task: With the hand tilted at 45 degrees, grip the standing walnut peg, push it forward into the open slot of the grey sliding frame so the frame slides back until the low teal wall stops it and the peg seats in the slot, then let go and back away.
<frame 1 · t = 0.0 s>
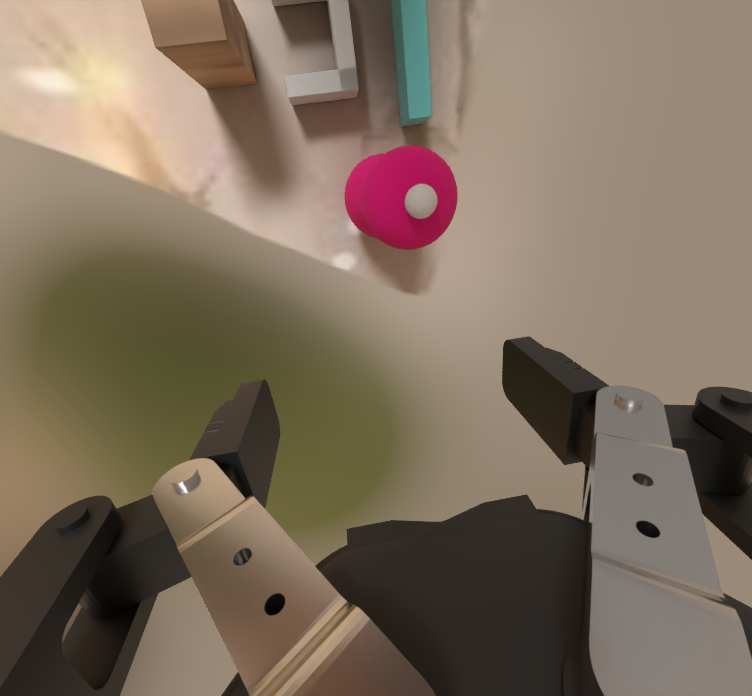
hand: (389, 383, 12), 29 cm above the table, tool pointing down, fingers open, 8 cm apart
wall: (404, 34, 32), on the table
frame: (314, 36, 30), point 2 cm above the table, slide at 0.0 cm
pepper mill: (377, 197, 37), on the table
peg: (223, 55, 31), on the table
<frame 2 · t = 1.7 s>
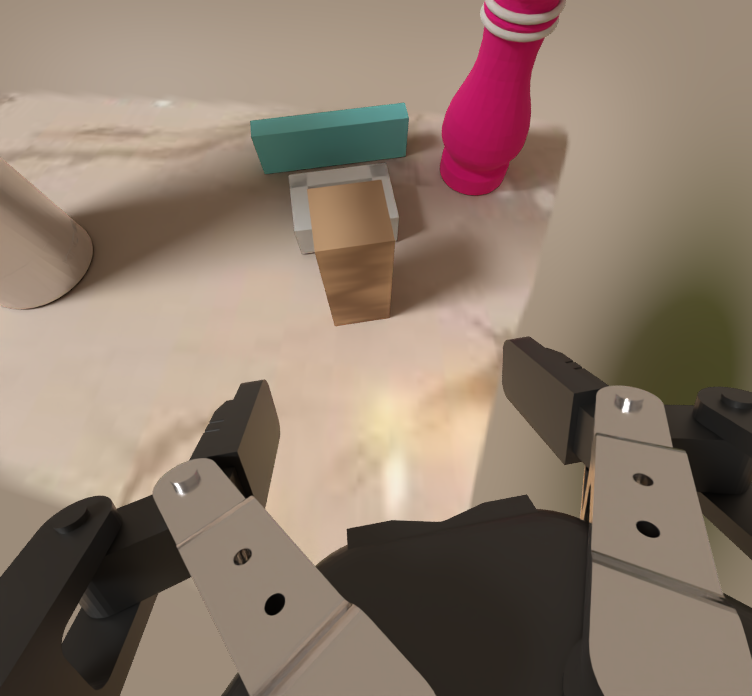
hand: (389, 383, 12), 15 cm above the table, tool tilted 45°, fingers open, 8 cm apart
wall: (334, 157, 35), on the table
frame: (343, 208, 31), point 2 cm above the table, slide at 0.0 cm
pepper mill: (471, 173, 35), on the table
peg: (358, 298, 30), on the table
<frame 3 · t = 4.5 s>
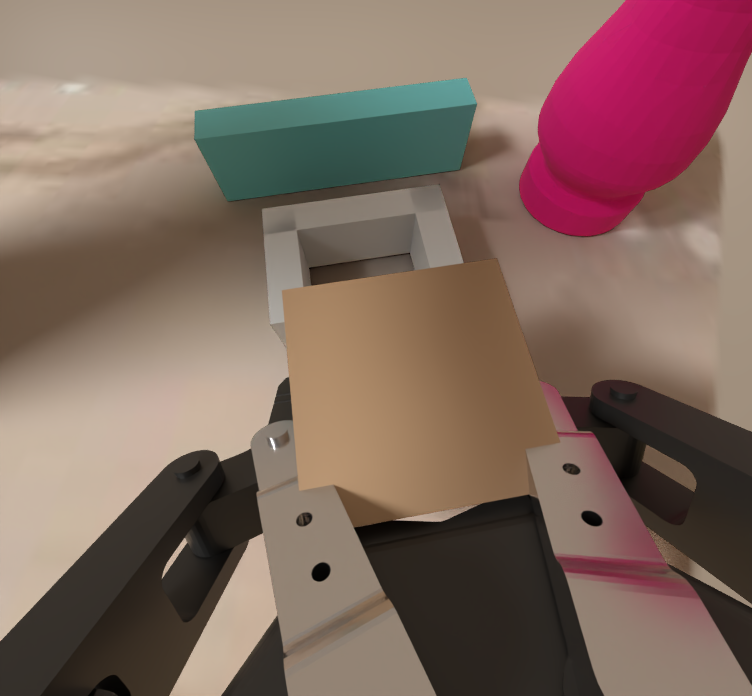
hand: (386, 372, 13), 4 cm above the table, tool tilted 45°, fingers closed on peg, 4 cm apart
wall: (343, 172, 21), on the table
frame: (363, 267, 17), point 2 cm above the table, slide at 0.0 cm
pepper mill: (570, 196, 21), on the table
peg: (392, 439, 16), on the table, touching gripper
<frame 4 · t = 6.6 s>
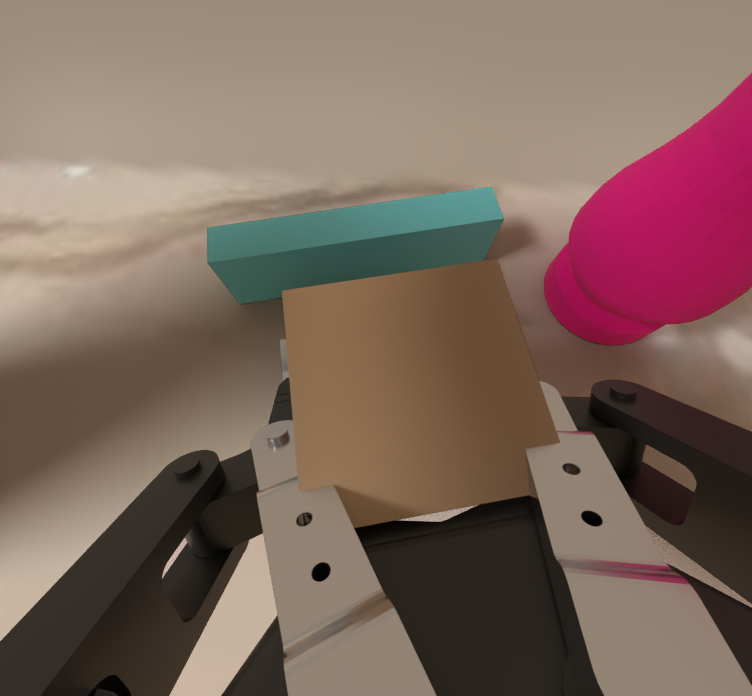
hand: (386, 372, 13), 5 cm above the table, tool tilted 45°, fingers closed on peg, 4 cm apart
wall: (360, 270, 21), on the table
frame: (385, 396, 16), point 2 cm above the table, slide at 0.0 cm
pepper mill: (596, 296, 20), on the table
peg: (392, 439, 16), point 1 cm above the table, touching gripper
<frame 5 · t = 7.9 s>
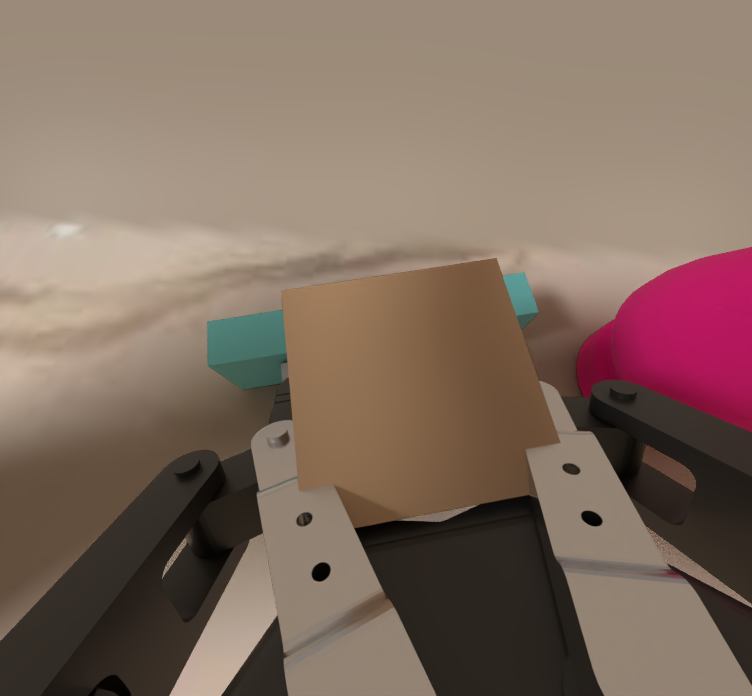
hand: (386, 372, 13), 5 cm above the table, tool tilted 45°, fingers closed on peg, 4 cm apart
wall: (374, 349, 19), on the table
frame: (389, 421, 16), point 2 cm above the table, slide at 3.9 cm, touching peg
pepper mill: (634, 381, 18), on the table
peg: (392, 439, 16), point 1 cm above the table, touching frame, gripper
when the fingers open (5 cm above the table, at t = 9.1 s): peg drops 1 cm, on the table.
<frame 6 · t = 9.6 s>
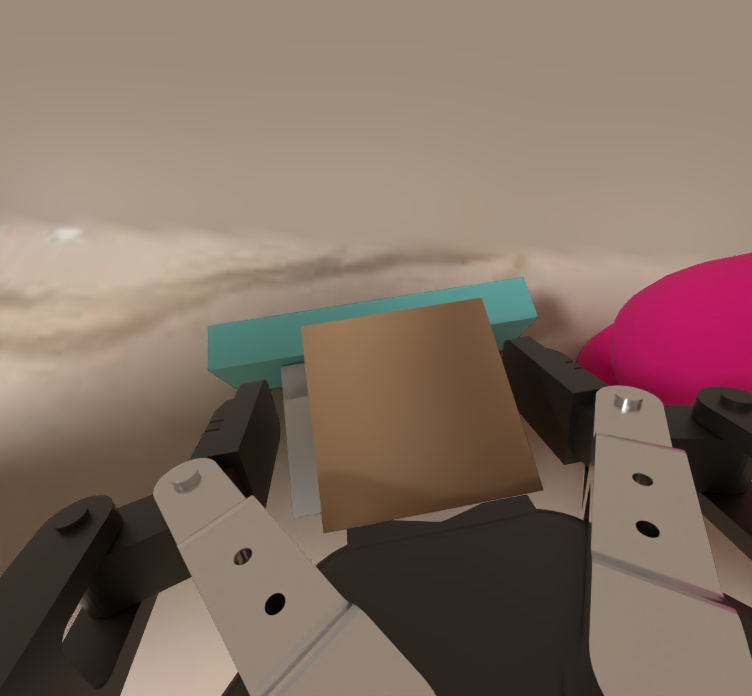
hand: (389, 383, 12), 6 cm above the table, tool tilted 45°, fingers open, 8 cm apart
wall: (374, 353, 19), on the table
frame: (389, 424, 16), point 2 cm above the table, slide at 3.9 cm
pepper mill: (633, 385, 18), on the table
peg: (393, 445, 17), on the table
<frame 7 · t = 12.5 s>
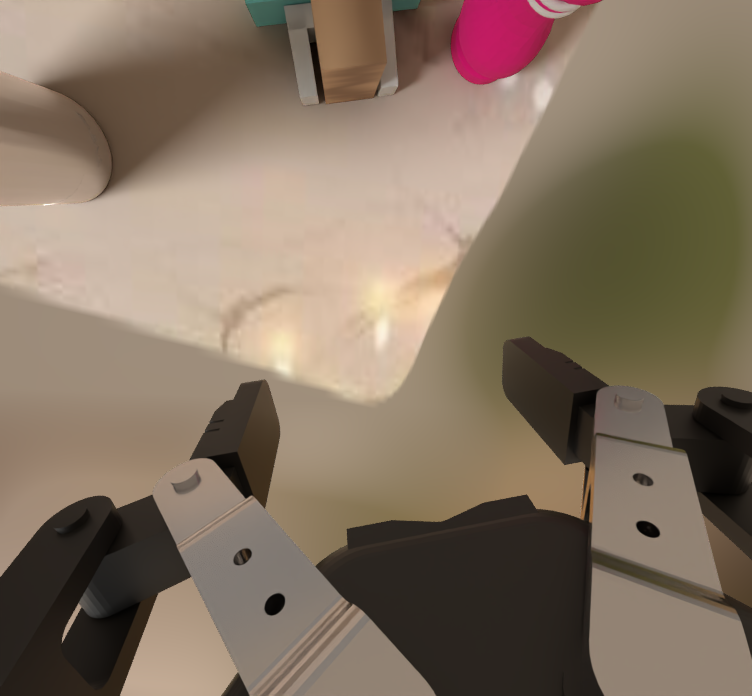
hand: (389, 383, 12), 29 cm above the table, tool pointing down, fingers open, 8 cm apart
wall: (335, 2, 30), on the table
frame: (343, 54, 30), point 2 cm above the table, slide at 3.9 cm
pepper mill: (482, 44, 33), on the table
peg: (345, 71, 32), on the table
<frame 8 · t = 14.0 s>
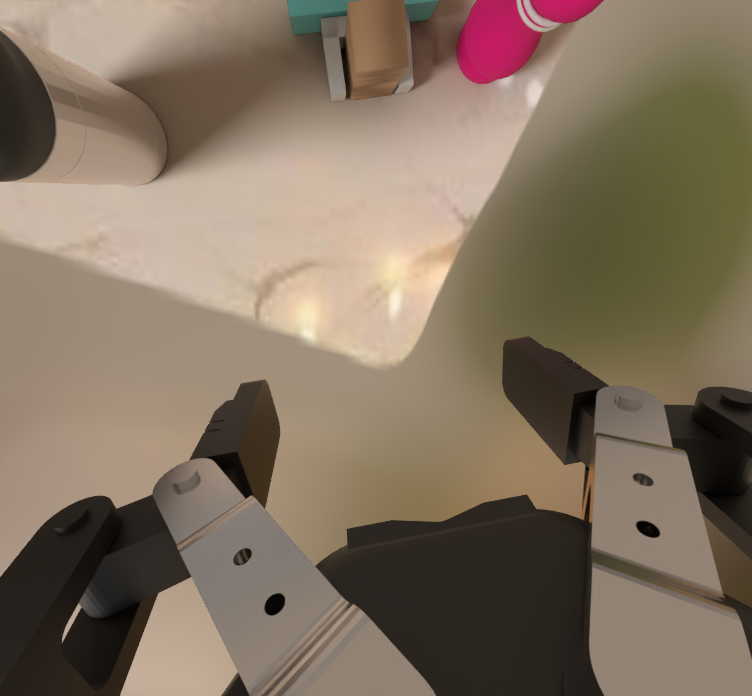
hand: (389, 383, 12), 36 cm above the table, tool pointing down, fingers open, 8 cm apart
wall: (360, 14, 36), on the table
frame: (367, 58, 36), point 2 cm above the table, slide at 3.9 cm
pepper mill: (483, 50, 38), on the table
peg: (367, 72, 38), on the table
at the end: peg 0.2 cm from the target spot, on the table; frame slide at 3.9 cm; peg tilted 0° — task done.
